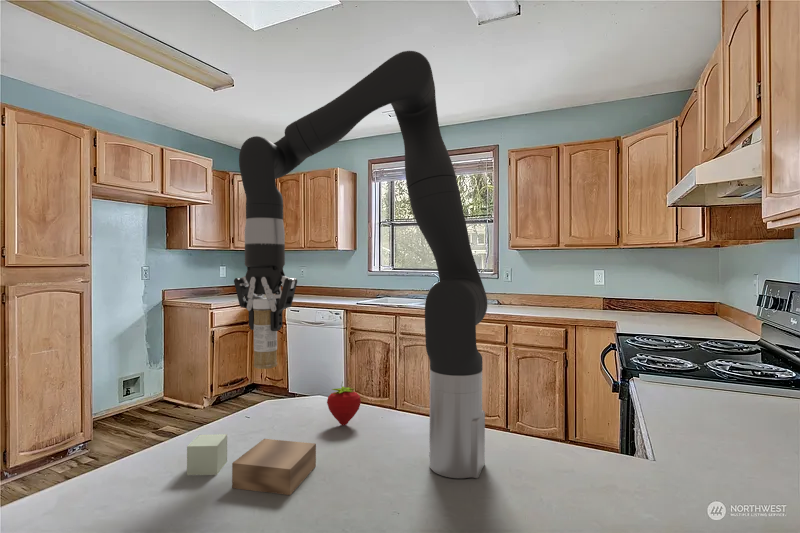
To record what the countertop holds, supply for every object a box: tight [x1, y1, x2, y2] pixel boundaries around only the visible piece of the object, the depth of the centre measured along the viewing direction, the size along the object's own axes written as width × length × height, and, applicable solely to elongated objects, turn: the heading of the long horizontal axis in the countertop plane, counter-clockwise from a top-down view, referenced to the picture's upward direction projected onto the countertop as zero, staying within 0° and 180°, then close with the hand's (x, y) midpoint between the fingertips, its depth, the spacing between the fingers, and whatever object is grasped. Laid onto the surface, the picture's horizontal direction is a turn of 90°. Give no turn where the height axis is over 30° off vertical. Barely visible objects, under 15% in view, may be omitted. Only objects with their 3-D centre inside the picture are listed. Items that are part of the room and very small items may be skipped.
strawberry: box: [326, 381, 362, 426], centre depth 97 cm, size 6×8×10 cm
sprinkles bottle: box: [253, 297, 278, 370], centre depth 86 cm, size 5×5×14 cm
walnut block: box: [231, 438, 317, 496], centre depth 73 cm, size 10×10×4 cm
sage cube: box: [186, 433, 228, 476], centre depth 76 cm, size 5×5×5 cm
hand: (265, 329), depth 86 cm, fingers closed on sprinkles bottle, 4 cm apart
